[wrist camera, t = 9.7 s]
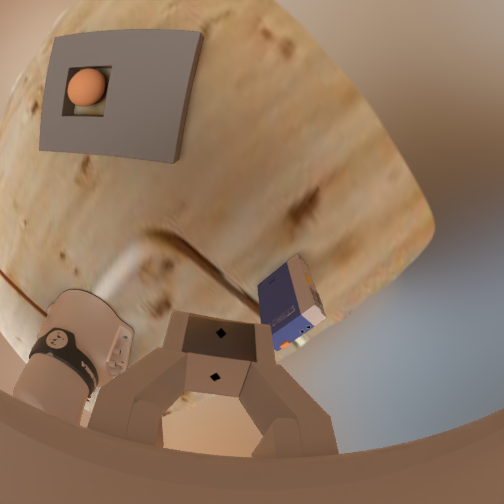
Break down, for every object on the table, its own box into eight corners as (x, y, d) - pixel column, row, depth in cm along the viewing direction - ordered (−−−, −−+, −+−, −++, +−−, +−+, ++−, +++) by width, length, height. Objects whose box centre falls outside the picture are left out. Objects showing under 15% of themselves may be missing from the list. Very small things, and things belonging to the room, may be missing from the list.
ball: (66, 104, 27) (101, 102, 30) (65, 110, 24) (104, 108, 27) (70, 68, 25) (106, 67, 28) (69, 69, 22) (110, 68, 25)
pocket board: (178, 159, 34) (173, 163, 31) (50, 146, 31) (39, 150, 29) (203, 37, 27) (200, 32, 24) (66, 40, 24) (55, 37, 21)
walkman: (269, 295, 44) (277, 353, 34) (257, 285, 43) (262, 343, 33) (309, 264, 42) (329, 318, 31) (297, 252, 41) (315, 305, 30)
